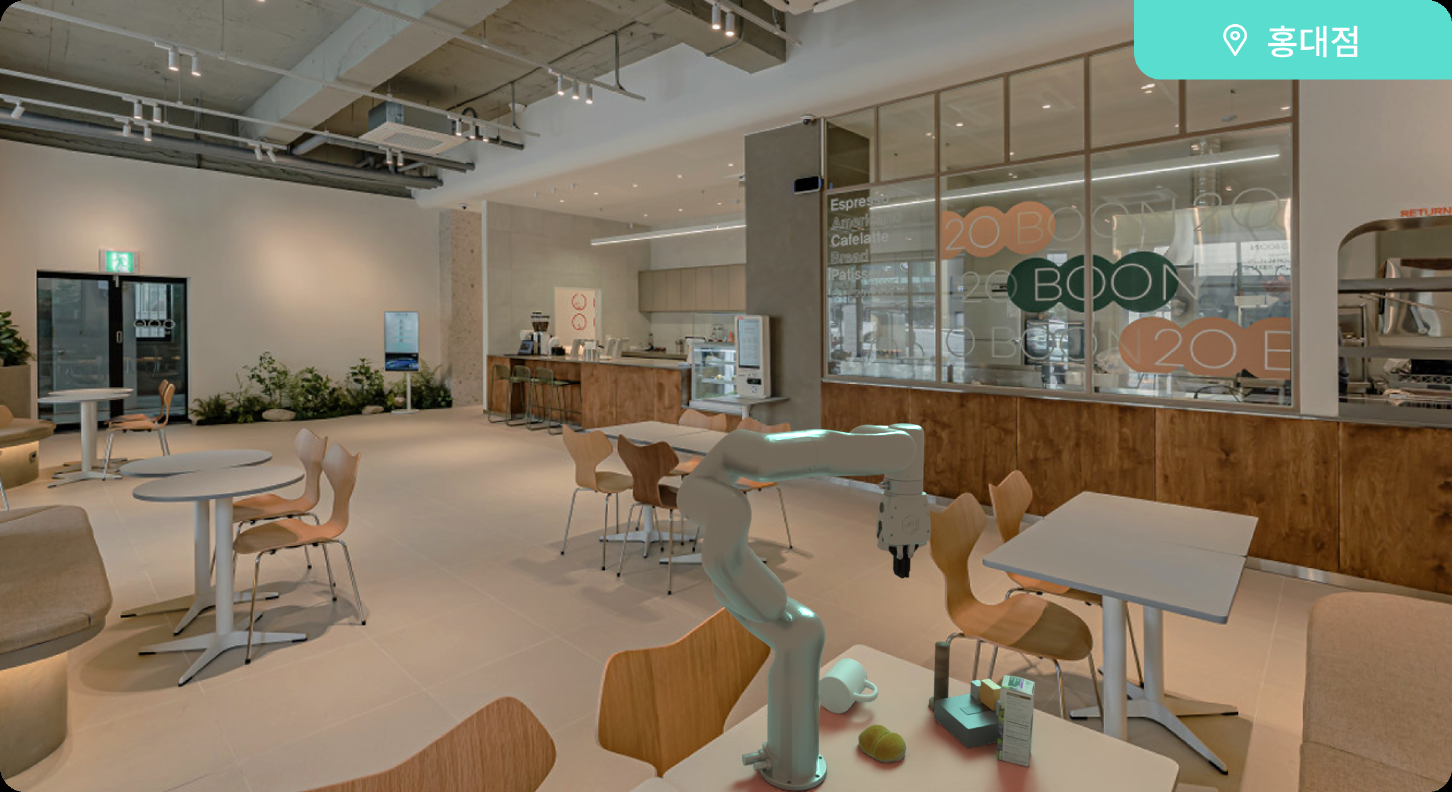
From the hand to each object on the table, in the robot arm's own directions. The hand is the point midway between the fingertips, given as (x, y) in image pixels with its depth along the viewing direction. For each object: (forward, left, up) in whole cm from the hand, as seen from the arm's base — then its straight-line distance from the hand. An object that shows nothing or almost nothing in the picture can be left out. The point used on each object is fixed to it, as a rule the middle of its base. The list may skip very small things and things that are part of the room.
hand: (901, 575), depth 138 cm
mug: (-5, +11, -32) cm, 35 cm away
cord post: (+13, +4, -32) cm, 35 cm away
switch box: (+16, -5, -32) cm, 36 cm away
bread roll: (-7, -6, -33) cm, 34 cm away
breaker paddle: (+19, -5, -28) cm, 34 cm away
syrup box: (+16, -15, -32) cm, 39 cm away
